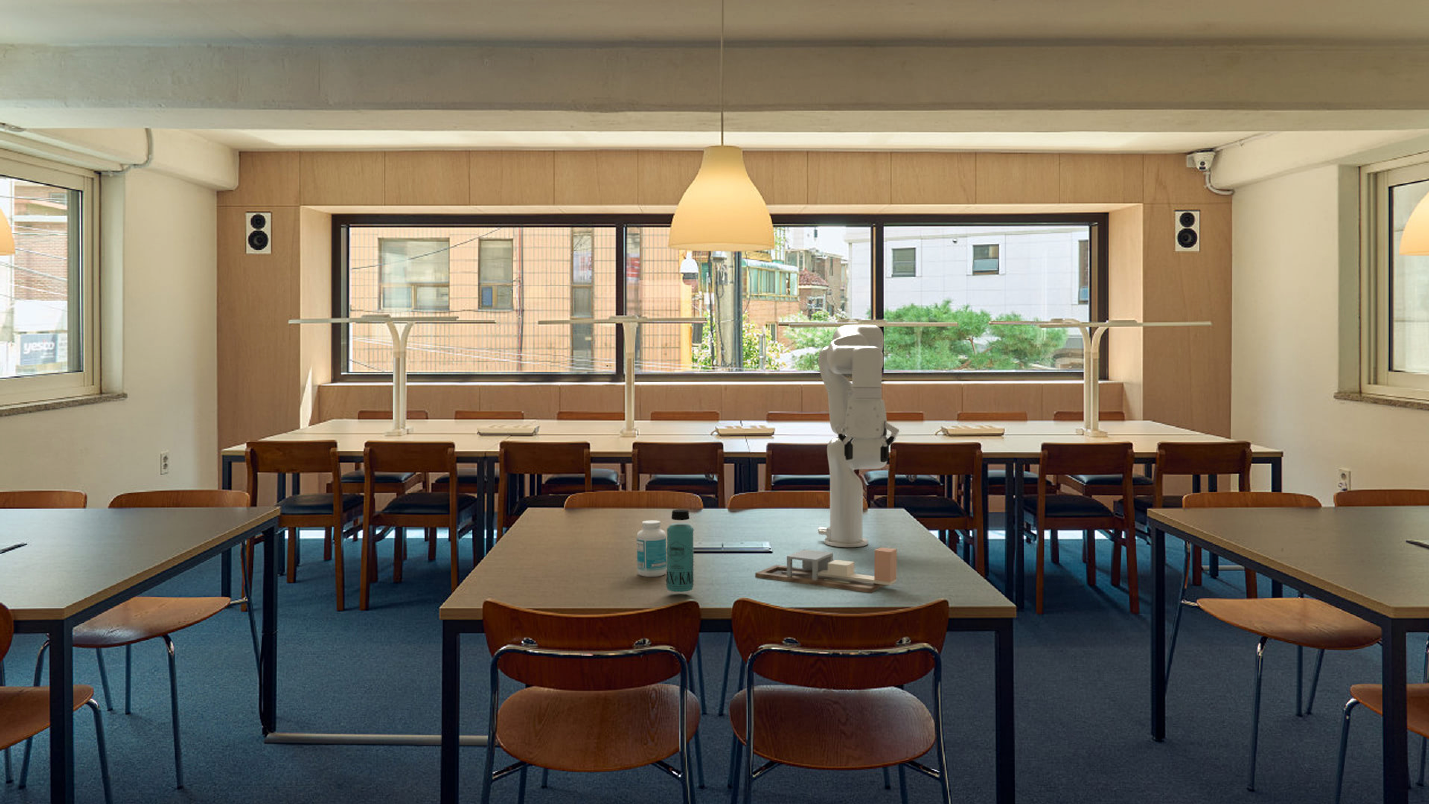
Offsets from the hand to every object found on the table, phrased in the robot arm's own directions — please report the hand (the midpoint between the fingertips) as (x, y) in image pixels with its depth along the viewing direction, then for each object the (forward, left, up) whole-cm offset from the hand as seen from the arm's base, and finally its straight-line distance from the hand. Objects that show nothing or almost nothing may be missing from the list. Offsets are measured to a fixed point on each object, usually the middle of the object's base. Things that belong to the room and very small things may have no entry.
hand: (866, 460), depth 254 cm
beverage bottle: (-26, -48, -28) cm, 62 cm away
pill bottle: (-44, -34, -28) cm, 62 cm away
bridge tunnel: (-7, -18, -27) cm, 33 cm away
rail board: (-4, -18, -28) cm, 34 cm away
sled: (+5, -18, -27) cm, 32 cm away
